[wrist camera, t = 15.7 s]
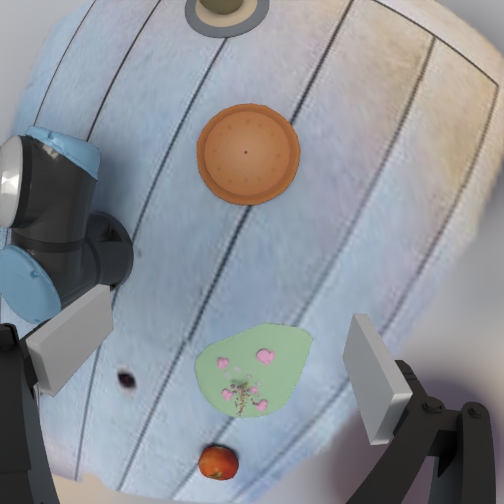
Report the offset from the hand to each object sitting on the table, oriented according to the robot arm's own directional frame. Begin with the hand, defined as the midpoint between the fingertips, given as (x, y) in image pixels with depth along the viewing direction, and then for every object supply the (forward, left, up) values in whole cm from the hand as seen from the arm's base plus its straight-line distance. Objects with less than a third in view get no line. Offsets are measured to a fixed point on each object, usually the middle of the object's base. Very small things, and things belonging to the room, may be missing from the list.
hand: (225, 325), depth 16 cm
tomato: (-2, -54, -36) cm, 65 cm away
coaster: (-12, +39, -36) cm, 54 cm away
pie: (-4, +11, -36) cm, 38 cm away
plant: (+2, -27, -36) cm, 45 cm away
